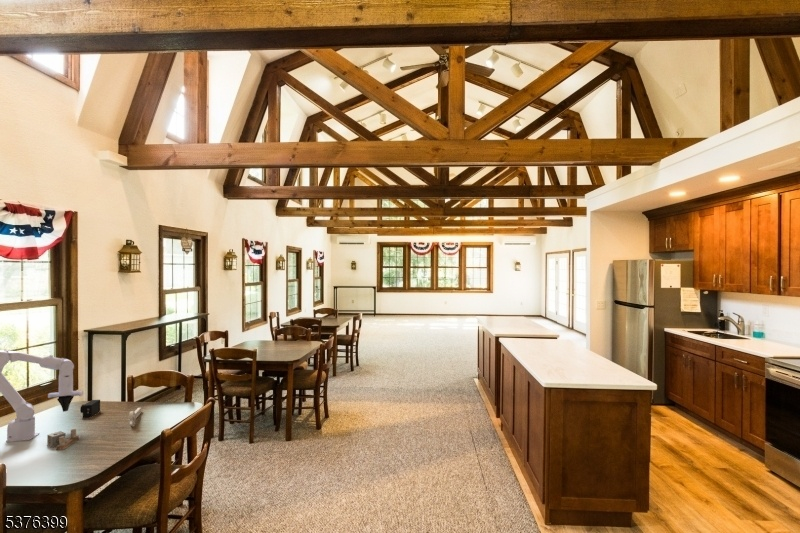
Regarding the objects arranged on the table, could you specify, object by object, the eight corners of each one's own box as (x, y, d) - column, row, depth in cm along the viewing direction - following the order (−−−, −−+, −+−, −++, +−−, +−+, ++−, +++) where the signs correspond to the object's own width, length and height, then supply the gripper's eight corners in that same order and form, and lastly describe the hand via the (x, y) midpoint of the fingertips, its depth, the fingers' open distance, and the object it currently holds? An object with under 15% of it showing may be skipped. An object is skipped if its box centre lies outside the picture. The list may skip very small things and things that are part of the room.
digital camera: (89, 412, 237) (89, 400, 237) (100, 411, 239) (100, 399, 239) (79, 418, 227) (80, 405, 227) (91, 417, 228) (91, 404, 229)
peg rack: (56, 449, 187) (56, 438, 187) (71, 439, 198) (71, 428, 198) (64, 449, 187) (64, 438, 187) (78, 438, 199) (78, 428, 199)
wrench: (141, 417, 237) (132, 428, 210) (137, 417, 237) (128, 429, 210) (141, 402, 238) (132, 412, 211) (137, 403, 238) (128, 412, 211)
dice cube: (47, 445, 192) (47, 434, 192) (60, 441, 196) (60, 431, 196) (52, 447, 189) (52, 436, 189) (65, 443, 193) (65, 433, 193)
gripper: (44, 386, 206) (44, 414, 205) (78, 384, 209) (78, 412, 209) (52, 383, 212) (52, 410, 212) (85, 381, 216) (85, 407, 216)
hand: (65, 410), depth 211 cm, fingers closed
